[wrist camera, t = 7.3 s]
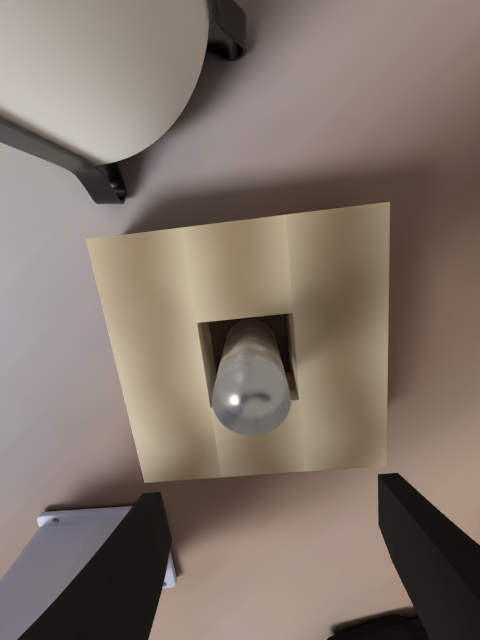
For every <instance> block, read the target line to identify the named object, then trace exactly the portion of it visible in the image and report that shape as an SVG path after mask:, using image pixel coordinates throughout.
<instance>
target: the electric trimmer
mask: <svg viewBox="0 0 480 640" xmlns="http://www.w3.org/2000/svg"><path fill="white" fill-rule="evenodd" d="M327 640H430V638H429V636H428V634H427V632H426V630H425V628H424V626H423V624H422V622H421V620H420V618H419V617H418V618H414V619H409V620H406V619H404V618H401V617H398V616H396V615H393V616H390V617H387V618H384V619H381V620H378V621H375V622H372V623H369V624H366V625H363V626H360V627H357V628H354V629H351V630H349V631H346V632H343V633H340V634H337V635H334V636H332V637H329V638H328V639H327Z"/></svg>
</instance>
